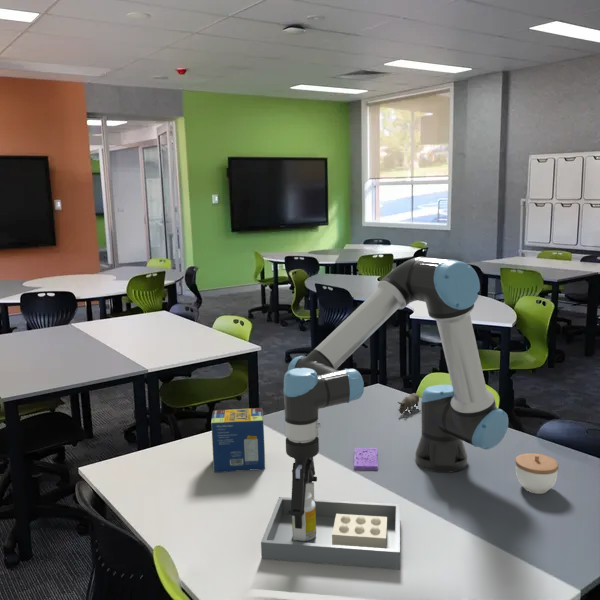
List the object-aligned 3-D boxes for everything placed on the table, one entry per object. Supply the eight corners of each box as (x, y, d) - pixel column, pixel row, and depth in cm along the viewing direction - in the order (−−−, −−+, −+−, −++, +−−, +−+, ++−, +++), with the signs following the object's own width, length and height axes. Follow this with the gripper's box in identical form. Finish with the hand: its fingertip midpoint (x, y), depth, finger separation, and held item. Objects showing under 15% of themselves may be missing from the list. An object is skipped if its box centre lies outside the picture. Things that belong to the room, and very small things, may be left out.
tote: (400, 523, 147) (400, 504, 146) (399, 573, 127) (399, 552, 127) (279, 515, 152) (279, 497, 151) (261, 562, 132) (260, 542, 132)
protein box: (215, 457, 187) (212, 410, 184) (264, 454, 188) (262, 407, 185) (213, 472, 176) (210, 422, 174) (265, 469, 178) (263, 419, 175)
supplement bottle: (321, 537, 140) (320, 496, 138) (301, 545, 137) (299, 503, 135) (307, 526, 145) (306, 487, 143) (288, 534, 142) (286, 493, 140)
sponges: (377, 453, 188) (376, 447, 187) (378, 471, 175) (378, 465, 175) (354, 453, 188) (354, 447, 188) (353, 471, 176) (353, 465, 176)
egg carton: (387, 530, 142) (387, 512, 141) (386, 553, 133) (386, 534, 132) (336, 527, 144) (336, 509, 143) (332, 549, 135) (331, 530, 134)
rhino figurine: (392, 416, 217) (393, 400, 216) (412, 405, 228) (412, 390, 227) (402, 418, 215) (402, 402, 214) (421, 407, 225) (422, 392, 224)
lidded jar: (558, 483, 164) (560, 451, 163) (555, 501, 155) (556, 467, 153) (517, 476, 169) (518, 444, 168) (511, 493, 160) (512, 460, 158)
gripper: (310, 461, 124) (312, 555, 127) (325, 417, 148) (327, 497, 152) (274, 459, 125) (278, 552, 129) (295, 416, 149) (297, 495, 153)
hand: (304, 522), depth 140 cm, fingers open, 13 cm apart
